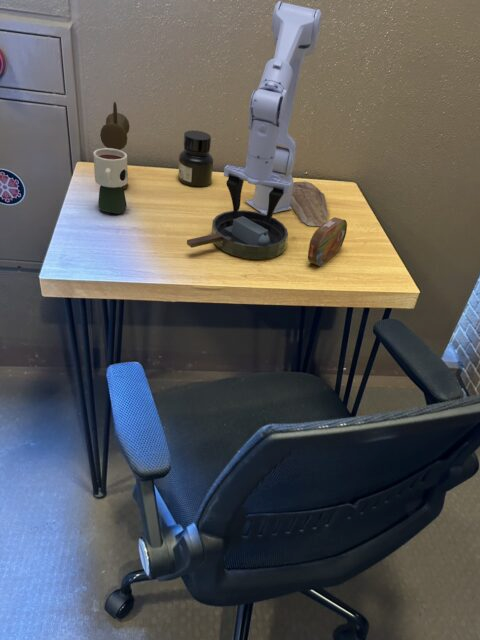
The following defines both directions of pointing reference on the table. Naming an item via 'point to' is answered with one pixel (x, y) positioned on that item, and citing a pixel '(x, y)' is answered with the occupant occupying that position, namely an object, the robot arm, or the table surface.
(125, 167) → the character mug
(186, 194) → the table surface
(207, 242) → the pan handle
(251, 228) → the grey flat-sided piece
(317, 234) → the tin
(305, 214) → the fish fossil
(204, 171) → the ink bottle
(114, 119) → the kendama
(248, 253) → the pan
